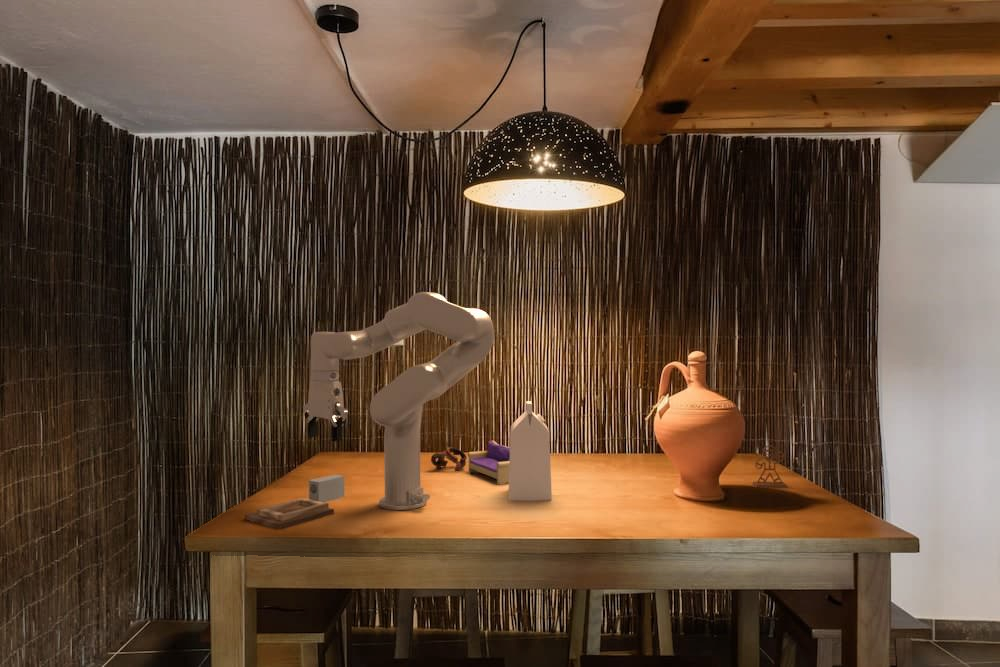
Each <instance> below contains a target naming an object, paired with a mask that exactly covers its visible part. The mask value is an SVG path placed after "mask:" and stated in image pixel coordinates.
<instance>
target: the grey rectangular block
mask: <svg viewBox="0 0 1000 667" xmlns="http://www.w3.org/2000/svg"><path fill="white" fill-rule="evenodd" d="M341 497H344V498H345V475H339V474H332V475H326V476H323V477H322V476H321V477H317V478H313V479H309V480H308V499H310V500H315V501H320V502H325V503H328V502H327V501H329V502H331V500H332V501H336V500H339V499H338V498H340V499H342V498H341ZM335 499H336V500H335Z"/></svg>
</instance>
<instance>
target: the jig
mask: <svg viewBox="0 0 1000 667" xmlns="http://www.w3.org/2000/svg"><path fill="white" fill-rule="evenodd" d="M331 514H332V515H334V514H335V510H334V508H330V507H329V503H328V502H325V503H324V502H320V501H315V500H310V499H309V498H304V497H301V498H296V499H294V500H289V501H284V502H282V503H278V504H273V505H270V506H264V507H262V508H257V509H256V511H255V512H252V513H248V514H247V513H246V514H244V520H245V519H246V520H245V521H247V520H250V521H249V522H251V521H253V522H252V523H255V522H256V524H258V523H259V525H263V526H267V527H270V528H273V527H274V529H278V530H283V529H285V528H290V527H292V526H296V525H300V524H304V523H307V522H310V521H314V520H317V518H318V519H321V518H324V516H325V517H327V516H331Z"/></svg>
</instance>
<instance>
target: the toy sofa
mask: <svg viewBox="0 0 1000 667" xmlns="http://www.w3.org/2000/svg"><path fill="white" fill-rule="evenodd" d="M467 457H468V473H469V472H476V473H482V474H484V475H486V476H488V477H491V478H494V479H496V483H497V484H496V485H505V484H509V462H510V446H506V445H503V444H498V443H497V441H495V440H489V441H488V442H487V450H481V451H480V450H479V451H469V452H467Z"/></svg>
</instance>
